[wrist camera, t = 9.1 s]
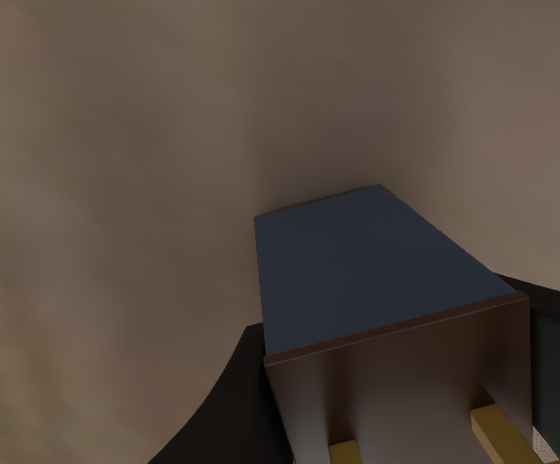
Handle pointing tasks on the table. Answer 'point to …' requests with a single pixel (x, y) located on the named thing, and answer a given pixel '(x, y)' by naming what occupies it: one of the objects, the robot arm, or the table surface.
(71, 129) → the table surface
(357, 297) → the box
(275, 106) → the table surface
